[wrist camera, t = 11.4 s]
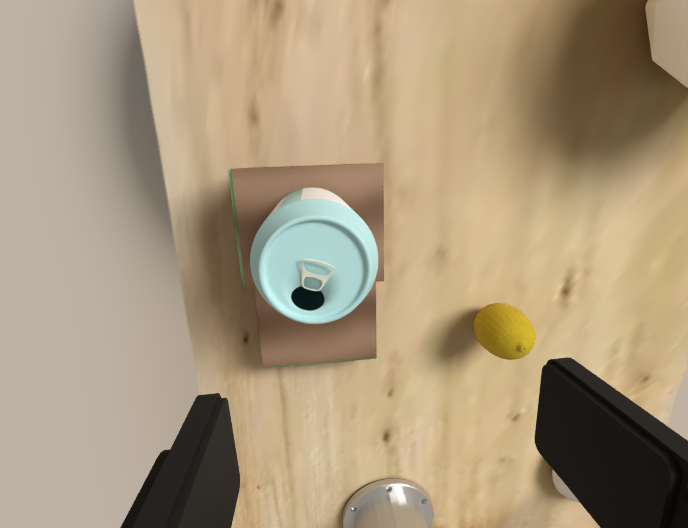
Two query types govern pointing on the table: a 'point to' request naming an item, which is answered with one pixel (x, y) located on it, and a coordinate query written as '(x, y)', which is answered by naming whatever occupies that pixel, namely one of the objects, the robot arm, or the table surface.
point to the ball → (669, 36)
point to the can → (313, 257)
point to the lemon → (504, 331)
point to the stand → (249, 214)
